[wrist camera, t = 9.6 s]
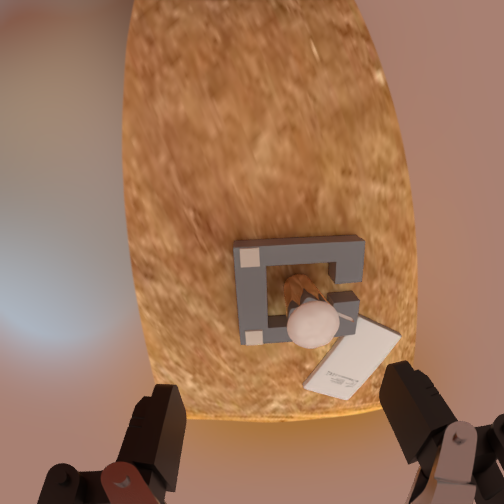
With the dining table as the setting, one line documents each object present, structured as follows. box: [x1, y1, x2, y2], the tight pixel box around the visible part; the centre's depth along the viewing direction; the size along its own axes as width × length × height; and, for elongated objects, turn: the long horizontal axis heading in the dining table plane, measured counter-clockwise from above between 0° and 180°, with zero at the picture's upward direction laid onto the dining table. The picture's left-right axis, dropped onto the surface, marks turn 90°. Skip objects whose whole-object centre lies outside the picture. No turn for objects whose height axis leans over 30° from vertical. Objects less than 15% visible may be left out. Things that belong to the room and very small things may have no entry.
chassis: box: [233, 235, 365, 345], centre depth 29 cm, size 11×13×3 cm
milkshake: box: [283, 274, 354, 349], centre depth 26 cm, size 4×5×10 cm
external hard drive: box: [303, 314, 402, 400], centre depth 34 cm, size 2×8×12 cm
